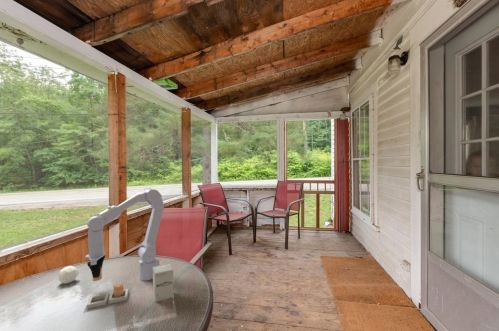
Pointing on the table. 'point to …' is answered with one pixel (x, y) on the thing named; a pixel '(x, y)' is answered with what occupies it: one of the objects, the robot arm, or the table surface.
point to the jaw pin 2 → (118, 290)
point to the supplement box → (163, 282)
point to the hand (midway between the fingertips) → (97, 275)
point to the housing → (106, 301)
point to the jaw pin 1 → (99, 276)
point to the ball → (68, 274)
